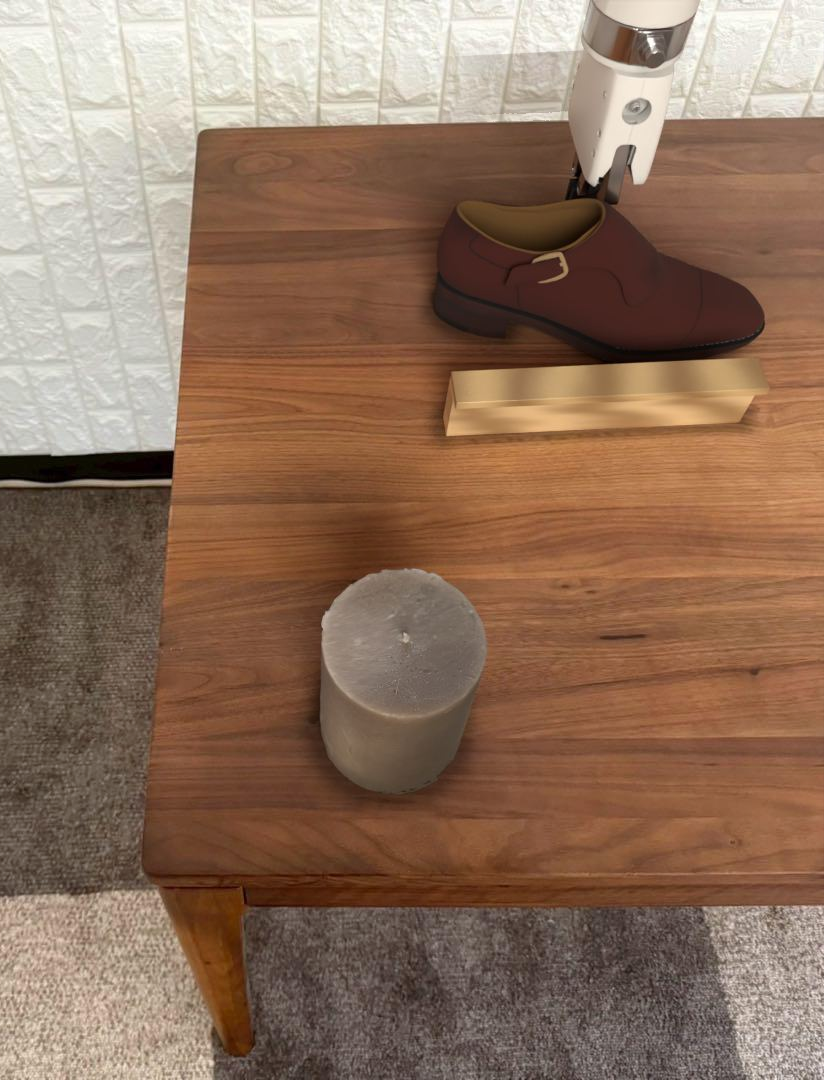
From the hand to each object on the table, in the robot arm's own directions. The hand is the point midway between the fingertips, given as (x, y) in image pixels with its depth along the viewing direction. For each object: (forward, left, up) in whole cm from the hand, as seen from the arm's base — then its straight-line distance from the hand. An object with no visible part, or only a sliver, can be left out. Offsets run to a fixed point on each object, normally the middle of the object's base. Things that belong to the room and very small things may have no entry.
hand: (579, 220), depth 90 cm
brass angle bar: (+2, +19, -4) cm, 20 cm away
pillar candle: (+21, +45, -4) cm, 49 cm away
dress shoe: (0, +9, -4) cm, 10 cm away
